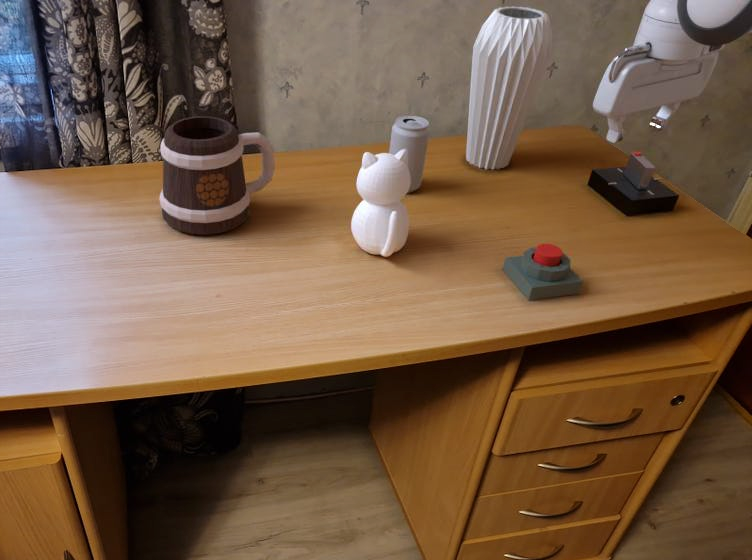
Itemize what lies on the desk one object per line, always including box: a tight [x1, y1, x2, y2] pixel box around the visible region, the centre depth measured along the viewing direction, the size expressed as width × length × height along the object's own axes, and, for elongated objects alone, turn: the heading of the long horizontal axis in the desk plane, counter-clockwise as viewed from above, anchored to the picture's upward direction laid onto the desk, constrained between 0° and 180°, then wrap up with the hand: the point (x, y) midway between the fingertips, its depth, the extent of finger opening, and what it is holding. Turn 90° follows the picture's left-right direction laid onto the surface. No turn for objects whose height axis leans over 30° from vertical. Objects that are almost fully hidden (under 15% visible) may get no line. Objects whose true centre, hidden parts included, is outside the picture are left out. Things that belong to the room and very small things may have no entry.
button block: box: [501, 246, 584, 301], centre depth 99 cm, size 8×8×4 cm
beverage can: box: [388, 115, 431, 194], centre depth 119 cm, size 6×6×12 cm
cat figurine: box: [350, 149, 411, 258], centre depth 102 cm, size 9×12×15 cm
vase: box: [465, 6, 553, 171], centre depth 123 cm, size 13×13×26 cm
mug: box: [158, 115, 275, 236], centre depth 110 cm, size 20×15×15 cm
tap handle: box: [623, 151, 656, 189], centre depth 117 cm, size 6×2×4 cm, turn 2°
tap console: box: [586, 165, 680, 217], centre depth 119 cm, size 12×10×3 cm
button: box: [533, 243, 564, 267], centre depth 97 cm, size 4×4×2 cm
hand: (635, 135), depth 104 cm, fingers open, 8 cm apart
